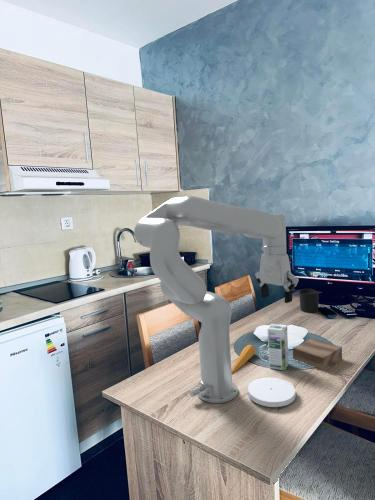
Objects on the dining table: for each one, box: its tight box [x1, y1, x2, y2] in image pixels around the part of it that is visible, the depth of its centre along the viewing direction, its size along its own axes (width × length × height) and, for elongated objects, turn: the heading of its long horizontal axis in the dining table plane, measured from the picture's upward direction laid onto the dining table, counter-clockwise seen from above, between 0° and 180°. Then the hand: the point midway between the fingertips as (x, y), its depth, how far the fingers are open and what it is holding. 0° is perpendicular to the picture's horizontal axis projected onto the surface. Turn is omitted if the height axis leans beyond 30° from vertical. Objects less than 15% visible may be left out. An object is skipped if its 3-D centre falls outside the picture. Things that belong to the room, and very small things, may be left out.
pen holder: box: [298, 288, 320, 313], centre depth 181 cm, size 9×9×10 cm
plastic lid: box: [247, 376, 297, 408], centre depth 106 cm, size 14×14×2 cm
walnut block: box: [292, 338, 343, 372], centre depth 127 cm, size 12×12×5 cm
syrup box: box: [267, 323, 289, 371], centre depth 124 cm, size 6×6×14 cm
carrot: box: [231, 344, 256, 374], centre depth 128 cm, size 20×4×4 cm, turn 147°
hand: (276, 299), depth 121 cm, fingers open, 9 cm apart
